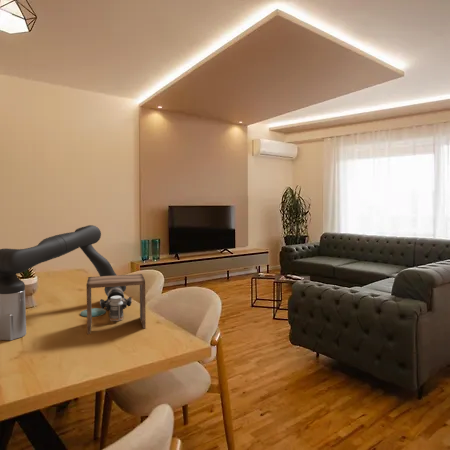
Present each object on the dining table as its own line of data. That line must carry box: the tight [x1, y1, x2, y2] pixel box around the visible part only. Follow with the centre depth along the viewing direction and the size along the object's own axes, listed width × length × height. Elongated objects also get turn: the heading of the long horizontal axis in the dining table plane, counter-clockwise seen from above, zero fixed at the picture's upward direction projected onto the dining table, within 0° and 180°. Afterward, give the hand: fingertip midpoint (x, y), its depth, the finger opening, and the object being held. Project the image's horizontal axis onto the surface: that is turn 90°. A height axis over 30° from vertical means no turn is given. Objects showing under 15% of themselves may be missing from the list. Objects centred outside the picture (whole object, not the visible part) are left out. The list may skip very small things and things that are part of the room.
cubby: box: [85, 273, 147, 335], centre depth 145 cm, size 14×22×20 cm, turn 108°
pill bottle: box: [108, 296, 124, 322], centre depth 153 cm, size 6×6×10 cm
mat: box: [79, 307, 107, 318], centre depth 162 cm, size 11×11×1 cm
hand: (116, 307), depth 151 cm, fingers closed on pill bottle, 5 cm apart
